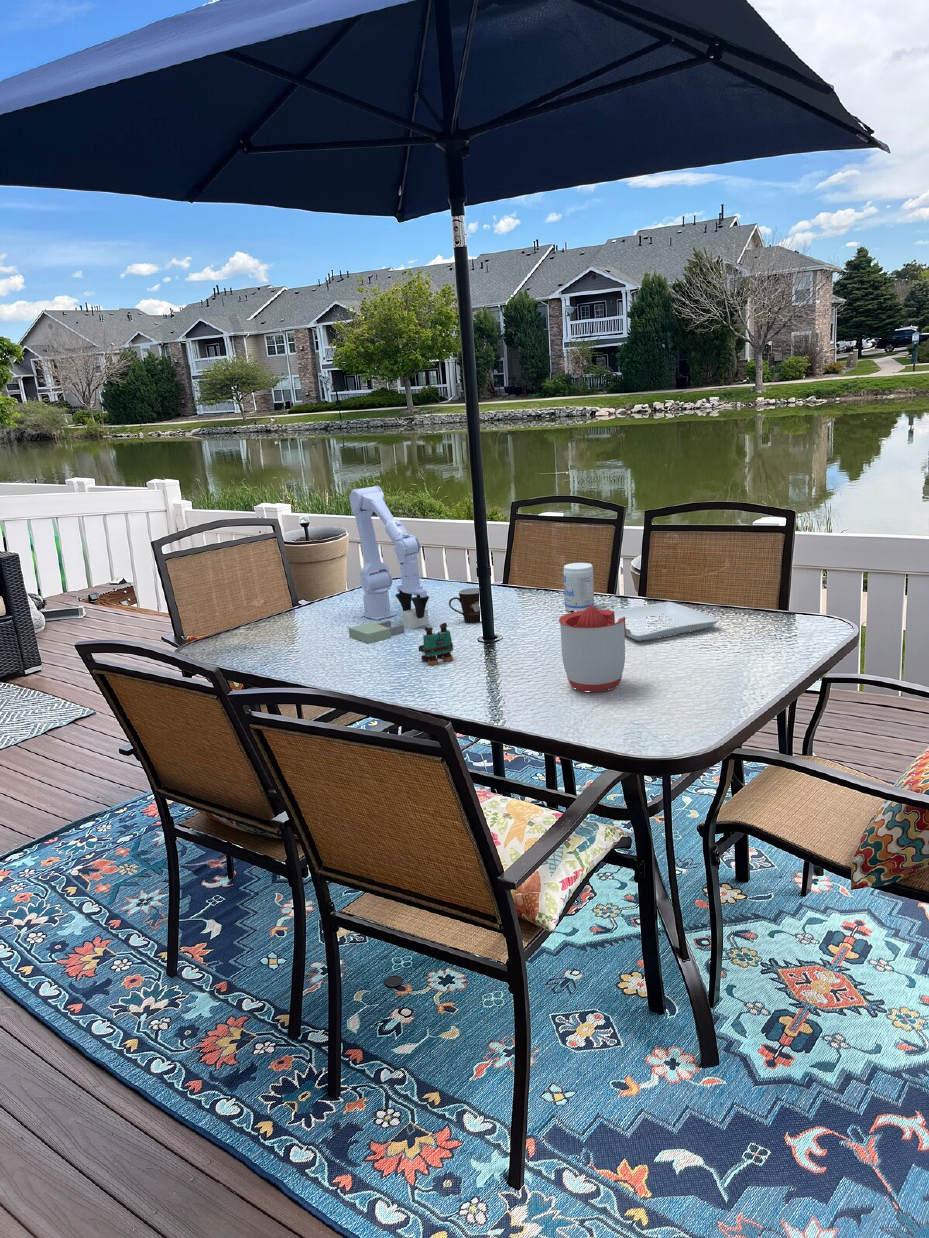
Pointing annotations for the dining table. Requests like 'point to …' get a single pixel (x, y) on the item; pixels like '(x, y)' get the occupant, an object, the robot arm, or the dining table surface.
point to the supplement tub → (578, 586)
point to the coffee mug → (469, 604)
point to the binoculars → (437, 645)
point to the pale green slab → (375, 631)
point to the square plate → (683, 615)
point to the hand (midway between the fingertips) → (414, 615)
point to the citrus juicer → (593, 648)
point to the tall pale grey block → (414, 619)
